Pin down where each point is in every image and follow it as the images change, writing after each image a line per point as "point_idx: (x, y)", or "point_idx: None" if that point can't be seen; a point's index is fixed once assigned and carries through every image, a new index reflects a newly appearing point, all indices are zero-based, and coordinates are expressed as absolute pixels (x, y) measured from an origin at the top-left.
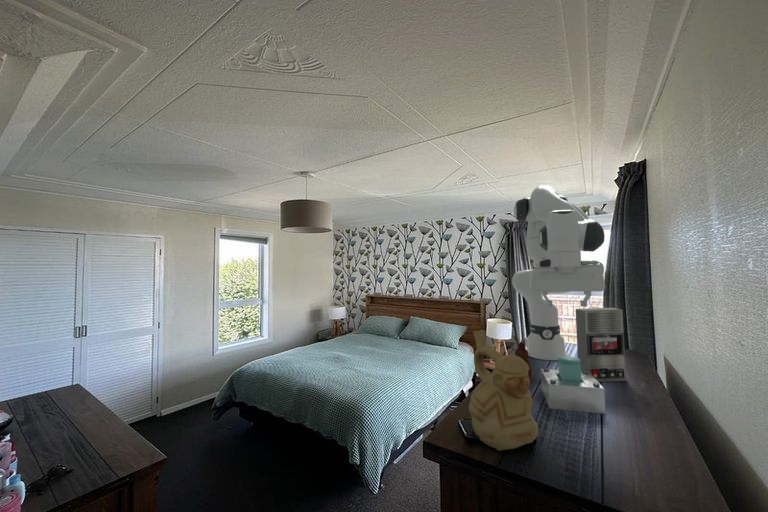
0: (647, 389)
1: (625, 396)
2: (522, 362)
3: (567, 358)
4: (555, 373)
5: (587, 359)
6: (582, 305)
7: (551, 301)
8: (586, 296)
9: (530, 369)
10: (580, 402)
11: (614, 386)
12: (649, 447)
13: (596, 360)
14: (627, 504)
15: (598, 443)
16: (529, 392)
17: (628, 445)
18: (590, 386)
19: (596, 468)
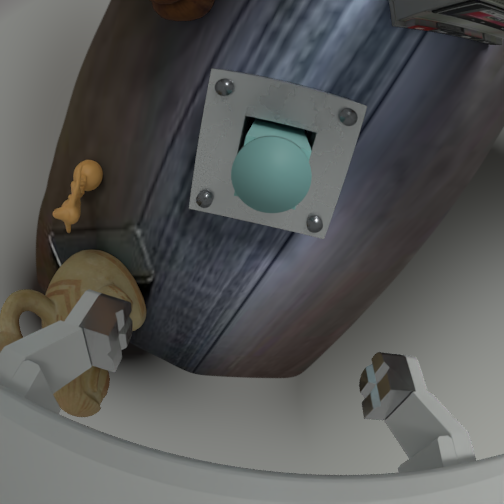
0: (497, 97)
1: (427, 124)
2: (87, 416)
3: (268, 172)
4: (244, 116)
5: (422, 12)
6: (362, 385)
7: (111, 364)
8: (418, 441)
9: (203, 10)
10: None
11: (443, 62)
12: (309, 309)
13: (449, 18)
14: (213, 375)
15: (239, 301)
16: None
17: (282, 305)
18: (296, 225)
19: (209, 341)
